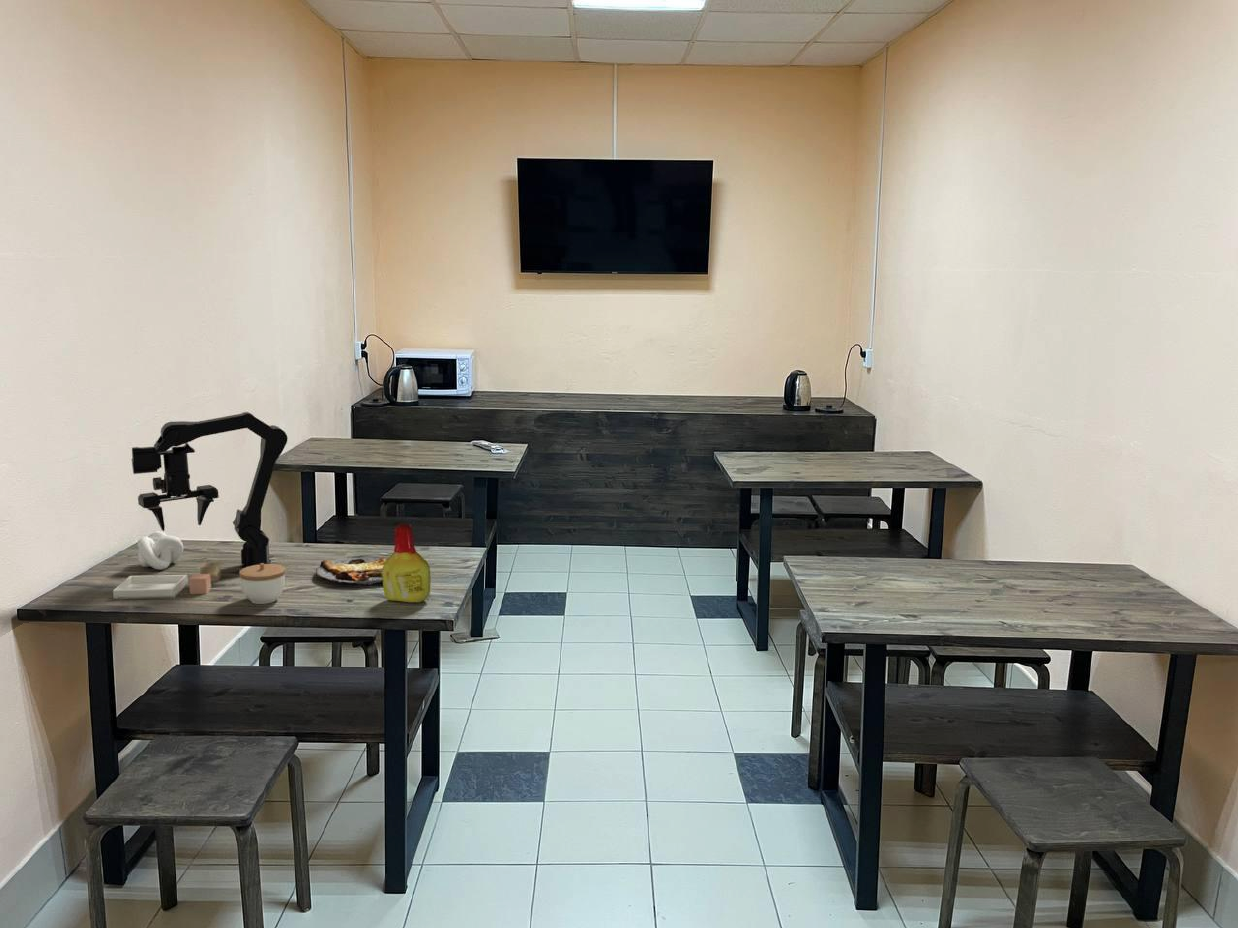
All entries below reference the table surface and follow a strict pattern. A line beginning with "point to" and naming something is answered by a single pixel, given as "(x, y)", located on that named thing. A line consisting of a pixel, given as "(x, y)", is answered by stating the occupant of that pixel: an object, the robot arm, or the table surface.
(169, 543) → the white knot sculpture
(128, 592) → the tray
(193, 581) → the terracotta block
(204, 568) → the beech block
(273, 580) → the lidded jar
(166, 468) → the robot arm
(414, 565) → the bottle
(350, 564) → the food plate
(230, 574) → the table surface
